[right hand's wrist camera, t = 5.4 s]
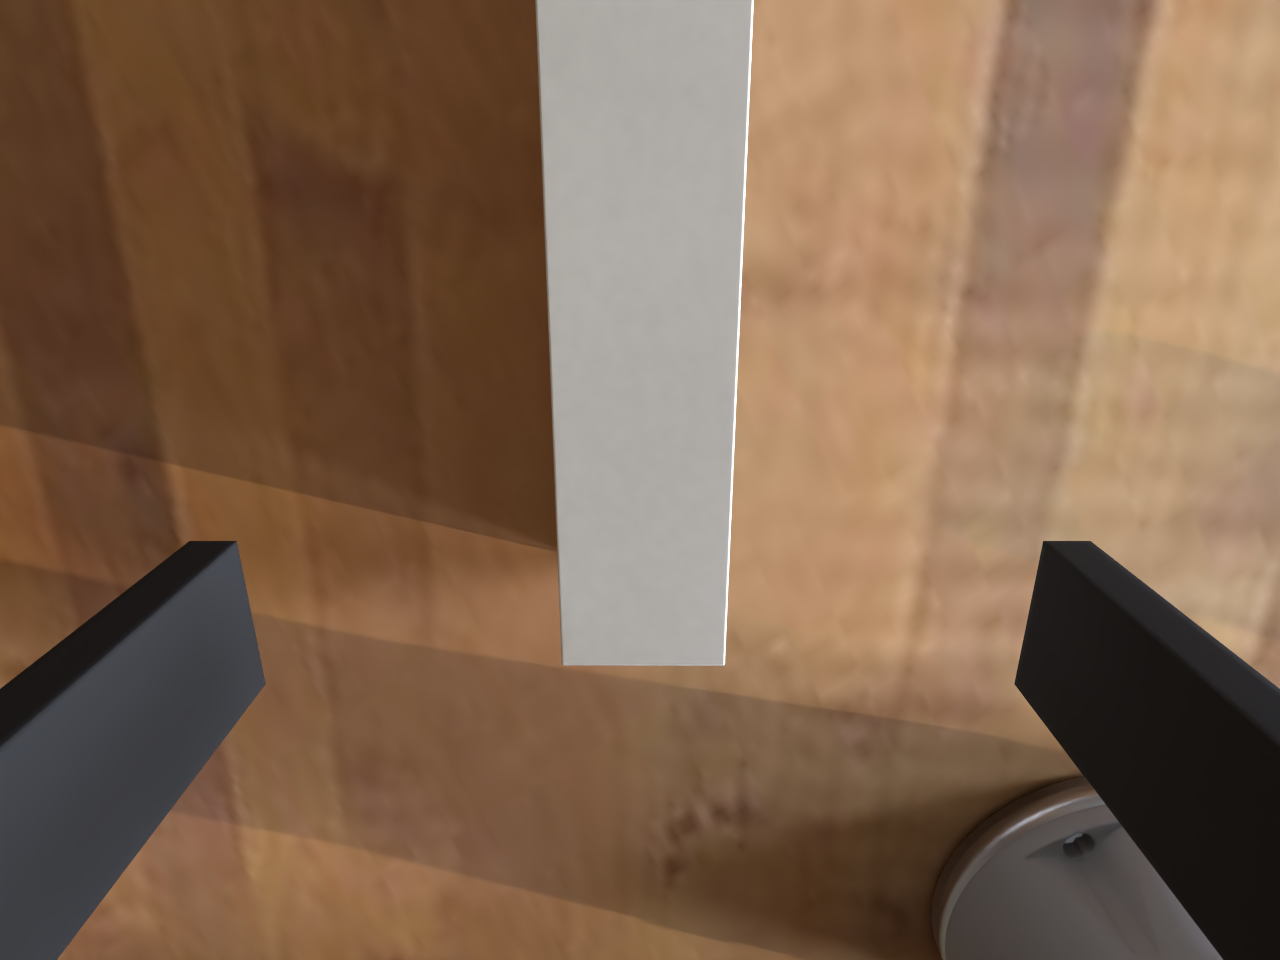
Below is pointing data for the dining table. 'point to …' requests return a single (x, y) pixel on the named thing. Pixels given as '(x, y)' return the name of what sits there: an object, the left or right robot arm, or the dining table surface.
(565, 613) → the bar
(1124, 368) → the dining table surface
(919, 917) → the dining table surface
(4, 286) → the dining table surface
